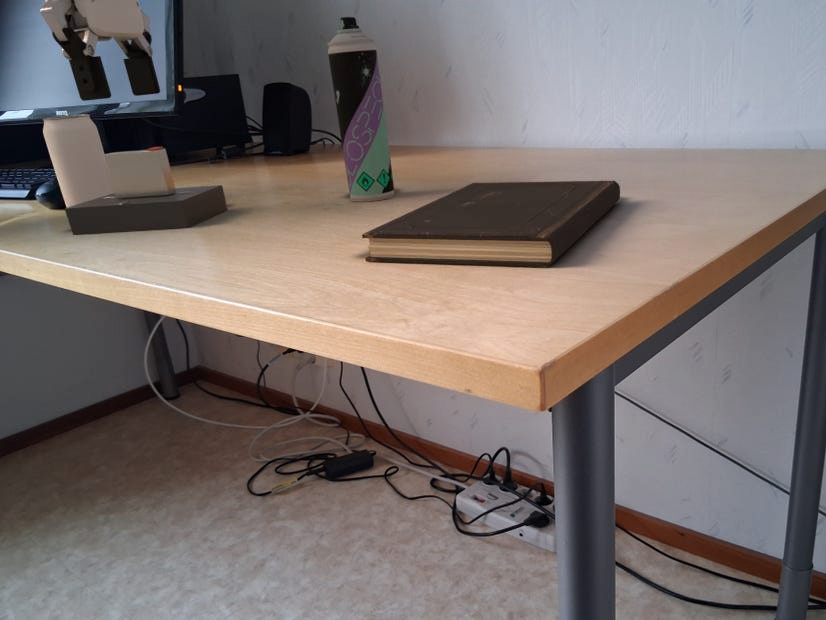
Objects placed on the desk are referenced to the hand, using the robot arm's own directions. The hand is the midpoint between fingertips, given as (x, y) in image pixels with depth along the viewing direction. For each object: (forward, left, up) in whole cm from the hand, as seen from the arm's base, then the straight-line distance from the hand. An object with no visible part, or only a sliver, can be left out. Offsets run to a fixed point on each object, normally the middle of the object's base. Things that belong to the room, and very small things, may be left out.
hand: (123, 96), depth 77 cm
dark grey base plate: (0, 0, -14) cm, 14 cm away
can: (-17, +14, -14) cm, 26 cm away
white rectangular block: (0, 0, -11) cm, 11 cm away
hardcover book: (+43, -15, -14) cm, 47 cm away
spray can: (+25, +7, -14) cm, 29 cm away
